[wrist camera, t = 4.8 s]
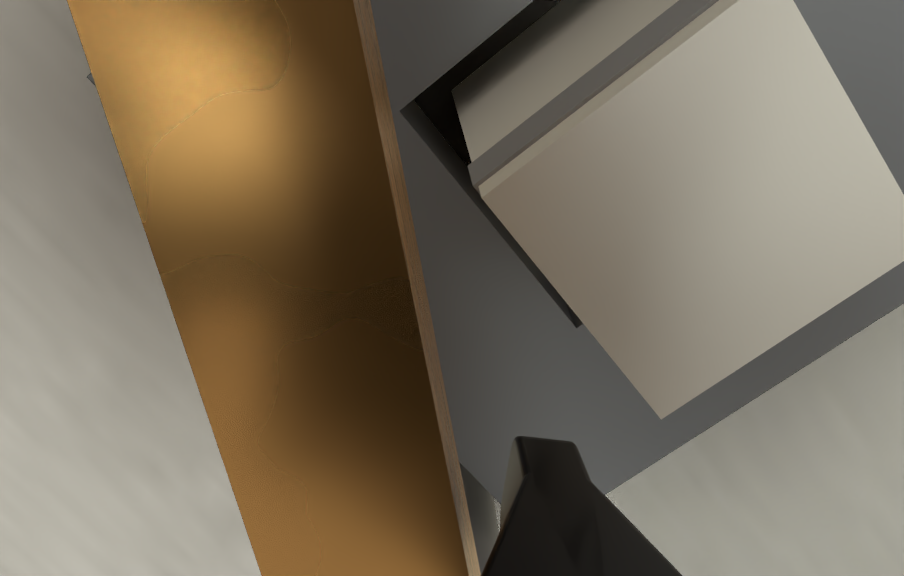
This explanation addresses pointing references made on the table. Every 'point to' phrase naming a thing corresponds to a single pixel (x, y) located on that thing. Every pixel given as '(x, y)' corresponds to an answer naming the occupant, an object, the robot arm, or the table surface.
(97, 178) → the table surface
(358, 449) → the golden orange bar
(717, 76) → the plug
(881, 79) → the socket block
